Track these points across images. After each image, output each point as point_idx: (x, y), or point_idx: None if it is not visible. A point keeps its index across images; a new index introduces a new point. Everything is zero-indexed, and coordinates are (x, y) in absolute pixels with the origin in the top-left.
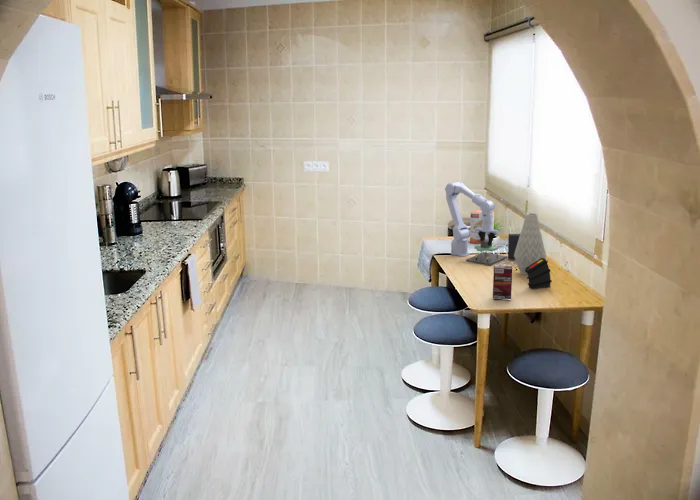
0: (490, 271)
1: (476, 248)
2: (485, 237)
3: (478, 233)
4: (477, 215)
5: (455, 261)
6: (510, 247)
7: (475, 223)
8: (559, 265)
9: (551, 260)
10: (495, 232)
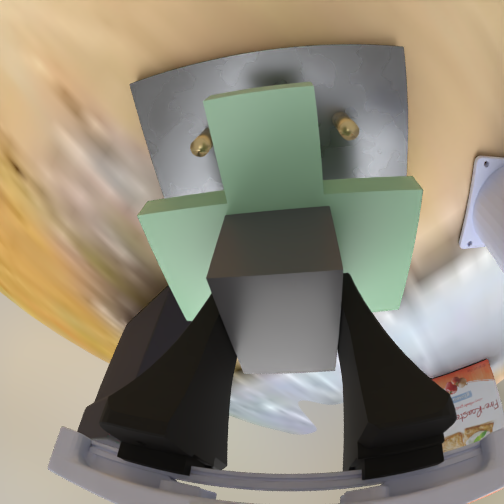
0: (52, 6)
1: (382, 179)
2: None
3: (441, 411)
4: None
5: (454, 5)
6: (141, 353)
7: None
8: (32, 316)
9: (87, 349)
10: (73, 458)
